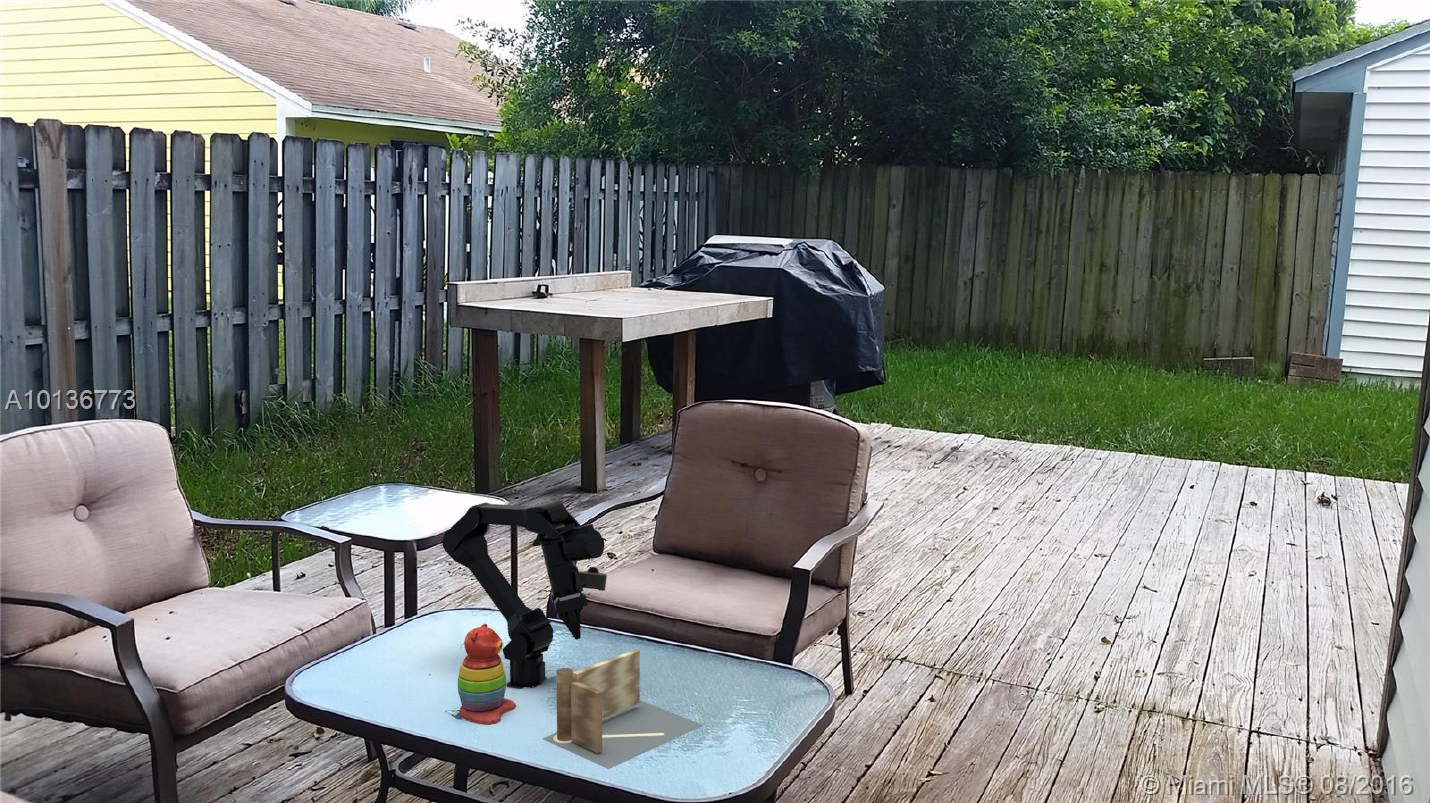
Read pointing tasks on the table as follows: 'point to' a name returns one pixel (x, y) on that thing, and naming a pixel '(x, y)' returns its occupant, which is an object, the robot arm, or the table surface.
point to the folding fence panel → (614, 681)
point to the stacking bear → (483, 678)
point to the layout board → (631, 734)
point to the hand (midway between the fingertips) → (578, 638)
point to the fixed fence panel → (578, 712)
